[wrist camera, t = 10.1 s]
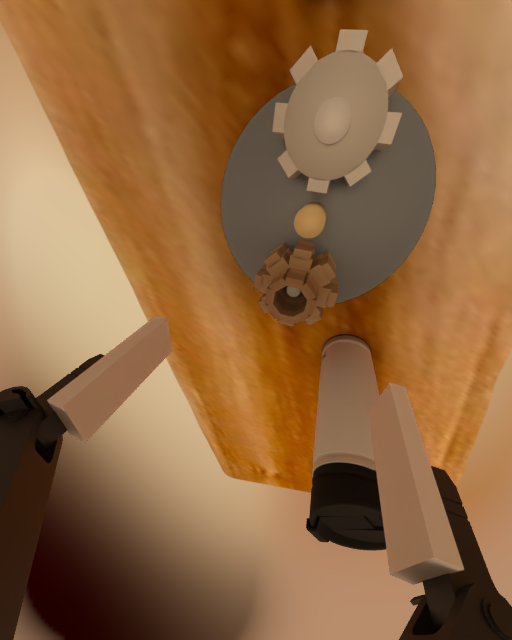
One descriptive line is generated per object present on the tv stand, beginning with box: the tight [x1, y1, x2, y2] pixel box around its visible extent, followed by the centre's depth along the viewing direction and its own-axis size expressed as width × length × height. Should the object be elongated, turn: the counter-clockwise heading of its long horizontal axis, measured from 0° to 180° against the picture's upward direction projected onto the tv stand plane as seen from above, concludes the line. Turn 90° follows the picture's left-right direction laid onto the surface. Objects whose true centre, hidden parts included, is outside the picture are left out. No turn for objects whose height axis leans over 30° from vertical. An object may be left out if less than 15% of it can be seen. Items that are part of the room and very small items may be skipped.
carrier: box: [221, 29, 436, 304], centre depth 21 cm, size 21×20×6 cm
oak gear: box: [254, 239, 338, 326], centre depth 23 cm, size 8×8×6 cm
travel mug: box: [306, 335, 386, 550], centre depth 23 cm, size 6×7×20 cm
